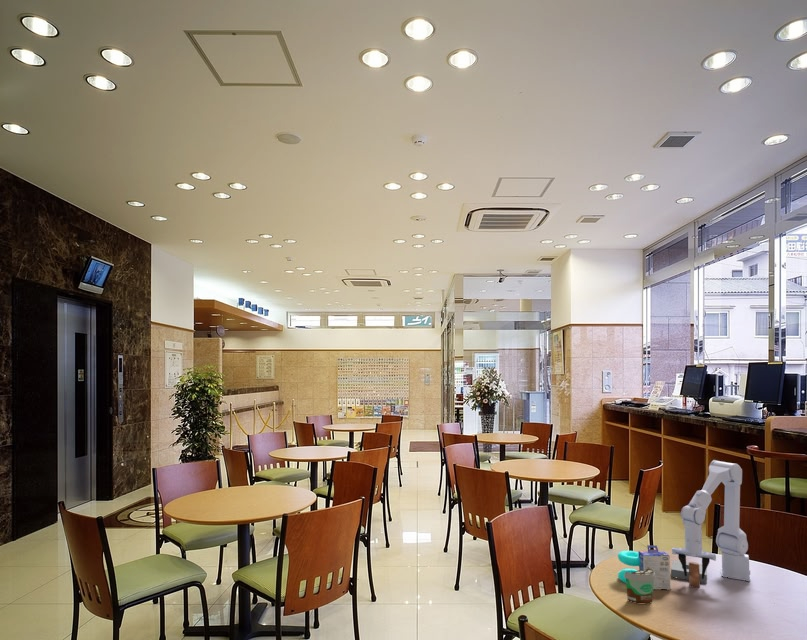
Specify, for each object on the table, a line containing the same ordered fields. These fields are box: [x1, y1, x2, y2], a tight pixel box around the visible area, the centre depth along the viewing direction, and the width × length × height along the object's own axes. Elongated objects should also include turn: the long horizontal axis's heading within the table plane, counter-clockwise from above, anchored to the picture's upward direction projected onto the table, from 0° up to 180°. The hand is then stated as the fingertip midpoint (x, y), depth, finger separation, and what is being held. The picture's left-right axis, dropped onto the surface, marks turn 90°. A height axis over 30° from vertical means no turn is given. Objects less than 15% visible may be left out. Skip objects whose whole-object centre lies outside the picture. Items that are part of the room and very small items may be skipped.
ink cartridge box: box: [637, 544, 671, 591], centre depth 209 cm, size 10×6×14 cm, turn 88°
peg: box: [688, 561, 701, 588], centre depth 211 cm, size 4×4×8 cm
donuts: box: [617, 550, 640, 584], centre depth 215 cm, size 10×10×10 cm
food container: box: [624, 567, 656, 604], centre depth 196 cm, size 12×6×10 cm, turn 117°
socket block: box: [670, 559, 708, 584], centre depth 221 cm, size 12×12×3 cm
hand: (694, 576), depth 211 cm, fingers open, 5 cm apart
